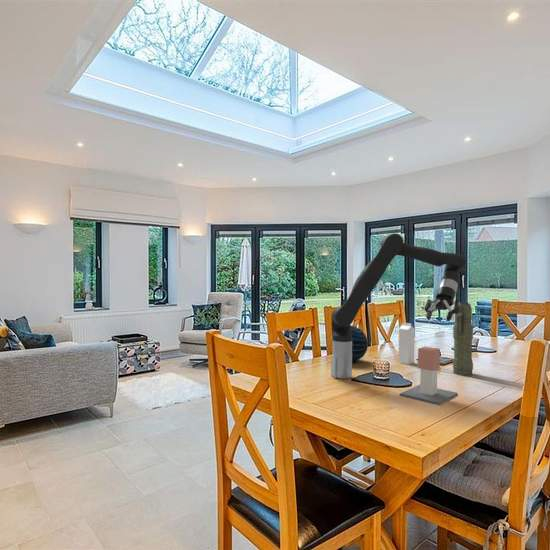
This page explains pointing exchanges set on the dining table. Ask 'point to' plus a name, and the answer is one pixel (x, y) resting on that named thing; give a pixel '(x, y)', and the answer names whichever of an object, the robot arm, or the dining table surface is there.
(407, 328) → the milk
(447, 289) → the robot arm
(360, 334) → the decorative sphere
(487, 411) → the dining table surface
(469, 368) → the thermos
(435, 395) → the square base with post
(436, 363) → the cap
